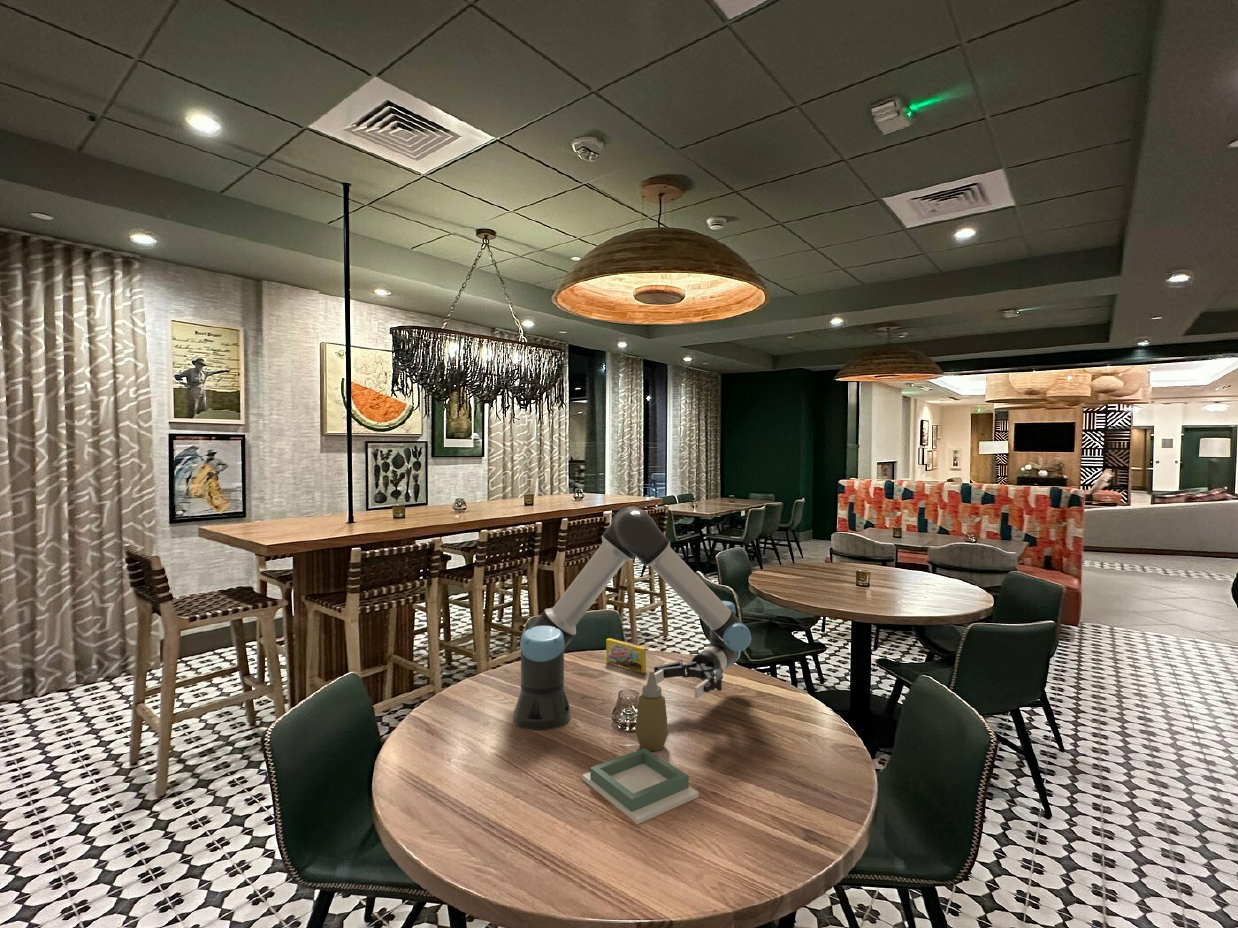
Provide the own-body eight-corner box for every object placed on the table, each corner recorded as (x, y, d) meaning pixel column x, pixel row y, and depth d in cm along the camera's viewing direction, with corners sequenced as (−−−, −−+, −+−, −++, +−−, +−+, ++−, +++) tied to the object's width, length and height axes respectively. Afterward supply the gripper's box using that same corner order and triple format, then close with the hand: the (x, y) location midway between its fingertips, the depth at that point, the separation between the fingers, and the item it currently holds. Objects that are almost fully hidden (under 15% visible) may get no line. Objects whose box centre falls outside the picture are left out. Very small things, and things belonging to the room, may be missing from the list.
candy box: (605, 662, 208) (605, 638, 208) (609, 661, 209) (609, 637, 209) (642, 673, 197) (642, 648, 197) (646, 671, 199) (646, 646, 199)
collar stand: (582, 779, 132) (582, 763, 132) (639, 758, 141) (639, 743, 141) (637, 824, 116) (637, 806, 116) (698, 796, 125) (698, 780, 125)
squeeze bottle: (666, 755, 142) (666, 679, 142) (632, 752, 144) (632, 677, 144) (670, 740, 150) (670, 668, 150) (638, 737, 152) (638, 666, 152)
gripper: (750, 685, 166) (716, 712, 148) (670, 668, 180) (632, 691, 162) (749, 658, 166) (716, 682, 148) (670, 643, 180) (631, 663, 162)
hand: (672, 687), depth 155 cm, fingers open, 13 cm apart
